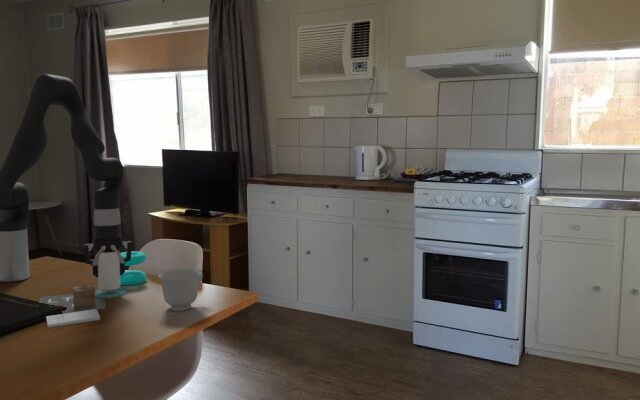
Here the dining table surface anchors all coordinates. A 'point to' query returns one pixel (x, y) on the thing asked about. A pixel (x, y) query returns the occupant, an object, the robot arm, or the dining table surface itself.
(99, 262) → the can
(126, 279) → the donuts
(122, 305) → the dining table surface
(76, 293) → the walnut block
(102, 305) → the tile
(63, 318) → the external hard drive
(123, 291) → the coaster
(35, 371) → the dining table surface
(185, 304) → the teacup
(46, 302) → the tile
